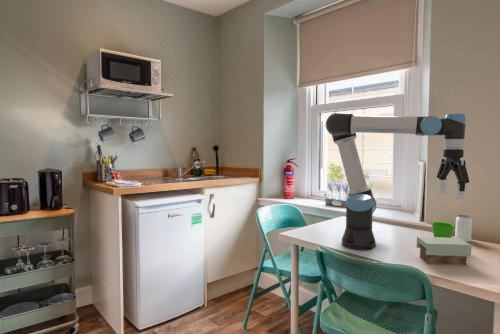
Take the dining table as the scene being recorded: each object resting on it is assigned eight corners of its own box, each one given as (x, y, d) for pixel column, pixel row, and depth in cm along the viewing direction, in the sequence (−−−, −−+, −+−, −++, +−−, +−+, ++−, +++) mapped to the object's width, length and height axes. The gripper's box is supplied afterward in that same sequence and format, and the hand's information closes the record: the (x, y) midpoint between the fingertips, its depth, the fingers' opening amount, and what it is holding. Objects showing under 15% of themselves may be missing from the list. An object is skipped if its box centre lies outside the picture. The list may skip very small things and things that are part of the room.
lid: (426, 254, 118) (426, 243, 118) (416, 247, 127) (416, 236, 127) (470, 256, 117) (471, 244, 116) (457, 248, 125) (458, 237, 125)
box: (427, 265, 120) (428, 247, 119) (419, 258, 126) (420, 242, 126) (466, 266, 118) (466, 249, 117) (456, 260, 125) (456, 243, 124)
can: (473, 242, 147) (474, 218, 146) (458, 241, 149) (459, 217, 148) (467, 238, 154) (468, 215, 153) (452, 237, 155) (453, 214, 154)
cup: (432, 243, 146) (433, 220, 146) (454, 247, 141) (455, 223, 140) (428, 248, 139) (429, 224, 139) (452, 252, 134) (453, 227, 133)
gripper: (481, 149, 123) (478, 201, 125) (446, 148, 148) (443, 191, 150) (462, 149, 124) (459, 201, 125) (430, 148, 148) (427, 191, 150)
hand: (450, 196), depth 137 cm, fingers open, 13 cm apart
